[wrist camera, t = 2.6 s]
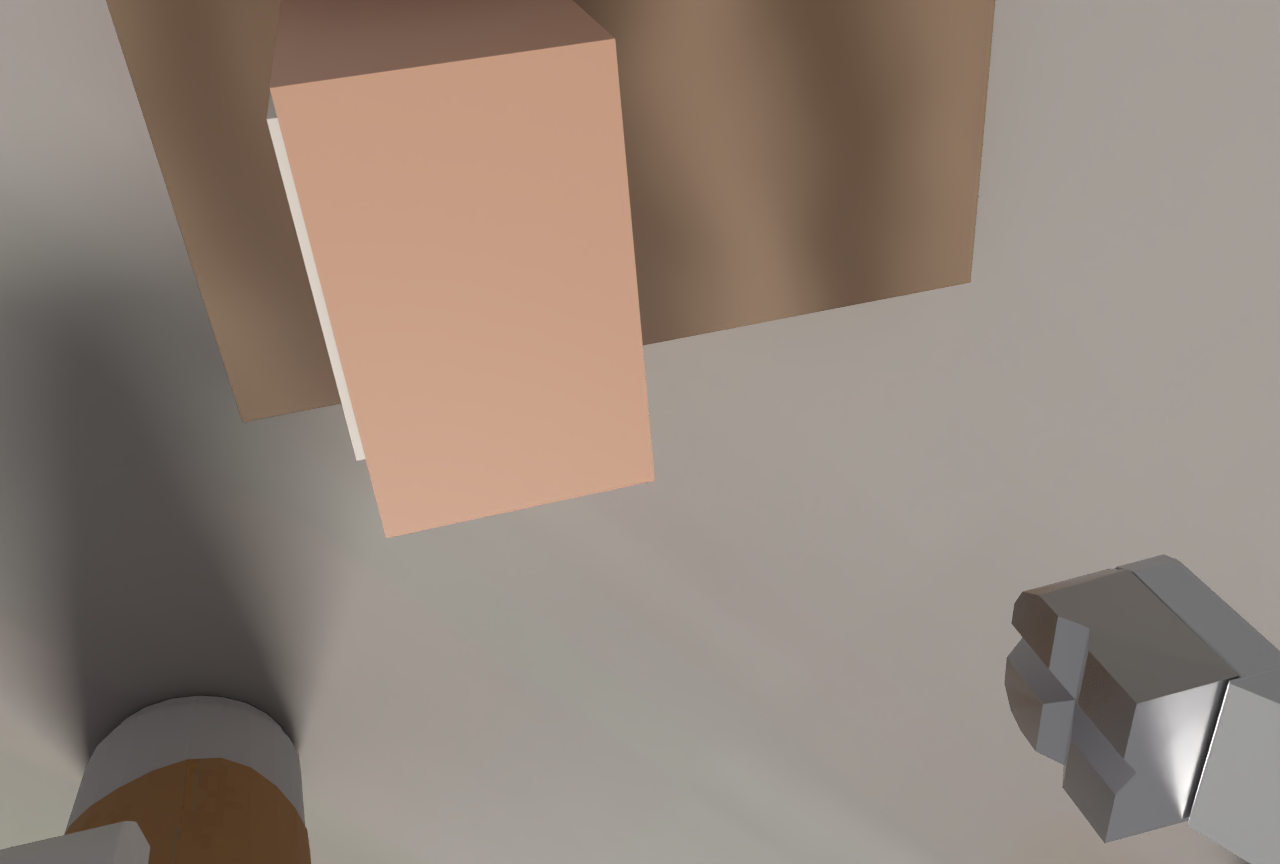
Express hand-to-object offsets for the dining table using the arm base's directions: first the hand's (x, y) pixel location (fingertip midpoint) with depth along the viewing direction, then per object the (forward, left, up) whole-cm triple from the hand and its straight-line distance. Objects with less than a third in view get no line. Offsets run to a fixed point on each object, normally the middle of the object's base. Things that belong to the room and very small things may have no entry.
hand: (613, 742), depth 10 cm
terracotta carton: (0, 0, -19) cm, 18 cm away
